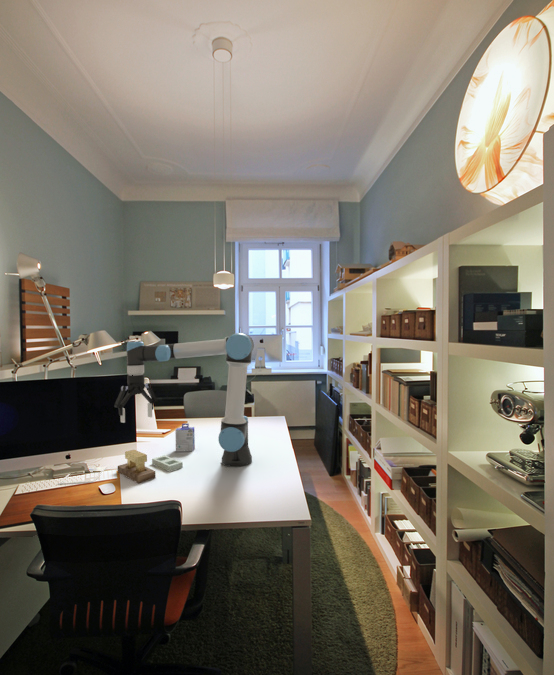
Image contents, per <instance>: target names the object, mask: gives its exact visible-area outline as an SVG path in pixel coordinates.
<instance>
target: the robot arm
mask: <svg viewBox="0 0 554 675" xmlns="http://www.w3.org/2000/svg"><path fill="white" fill-rule="evenodd" d="M144 343H145V342H143V341H128V342H127V344H126V373H127V376H126V377H127V379H126V380H127V382H126V383H127V385H126V386H125V385H122V386H120V391H119V394H118V396H117V398H116V400H115V402H114V405H113V407H114V408H115V409H116V408H117V409H118V415H119V416H120V417H119V418H120V423H123V424H125V423H126V408H124V407H125V405H126V404H127V403H128V402H129V400H130V398H131V397H132V396H135V395H142V396H143V397H144V398H145V400H147V402H148V403H147V417H148V418H153V410H154V404H155V403H156V402H157V401H158V399H157V397H156V396H157V395H155V392H154V391H153V388H152V385H151V383H149V382H147V383H145V362H161V363H162V362H168V361H169V360H174V359H183V358H184V359H185V358H197V357H208V356H219V355H225V357H226V359H225V362H226V364H227V365H228V373H227V386H226V397H225V398H226V401H225V412H224V416H223V418H221V421H220V422H221V423H220V432H219V434H218V444H219V446H220V447H221V449H223V454H222V457H221V464H222V465H224V466H226V467H233V468H234V467H243V466H244V467H245V466H247V465H249V464H251V463H252V461H253V457H252V453H251V450H250V447H249V420H248V419H249V417H248V416H246V415H245V404H246V402H245V401H246V390H247V389H246V388H247V377H248V376H247V375H248V374H247V373H248V367H249V366H250V365H251V364H252V355H253V354H252V352H253V351H254V347H255V346H254V345H255V344H254V340H253V338H252V337H251V336H250V335H248V334H247V333H242V332H236V333H233V334H231V335H230V336H226V337H224V338H223V339H212V340H210V339H209V340H202V341H201V340H200V341H199V340H198V341H189V342H180V343H165V344H156V345H145V344H144ZM132 375H133V376H132ZM145 389H146V390H145Z"/></svg>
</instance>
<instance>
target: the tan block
mask: <svg viewBox="0 0 554 675" xmlns="http://www.w3.org/2000/svg"><path fill="white" fill-rule="evenodd" d="M124 459H126V461H127V464H128V469H131V468H135V467H136V473H140V472H144V471H145V467H146V462H148V454H146V453H143V452H141V451H138V450H137V449H132V450H127V451H124Z"/></svg>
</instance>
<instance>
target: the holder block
mask: <svg viewBox="0 0 554 675" xmlns="http://www.w3.org/2000/svg"><path fill="white" fill-rule="evenodd" d="M151 464H152V465H153V466H156V467H158V468H160V469H163V470H165V471H168V472H172V471H176V470H179V469H182V468H183V461H180V460H178V459H176V458H172V457H170V456H168V455H161V456H158V457H153V458H152V459H151Z"/></svg>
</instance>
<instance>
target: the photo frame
mask: <svg viewBox="0 0 554 675" xmlns="http://www.w3.org/2000/svg"><path fill="white" fill-rule="evenodd" d="M88 468H89V470H90V472H91V473H94V472H93V471H101V472H98V474H97V475H96V477H94V479H93V480H82V481H67V482H66V481H65V480H66V479H67V478H69V477H70V476H71V475H70V474H69V473H68V474H67V475H66V476H65V477H63V478H62V479H61V480H60V481H59V482H58V483H57V485H71V484H88V483H90V484H91V483H94V482H95V481H96V480H97V479H98V478H99V477H100V476H101V475H102V474H103V473H104V472H105V471H106V470H107V469H108V466H99V467H98V466H96V467H88ZM103 471H104V472H103ZM102 472H103V473H102ZM101 473H102V474H101ZM100 474H101V475H100ZM69 475H70V476H69ZM99 475H100V476H99ZM98 476H99V477H98ZM97 477H98V478H97ZM64 481H65V482H64Z"/></svg>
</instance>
